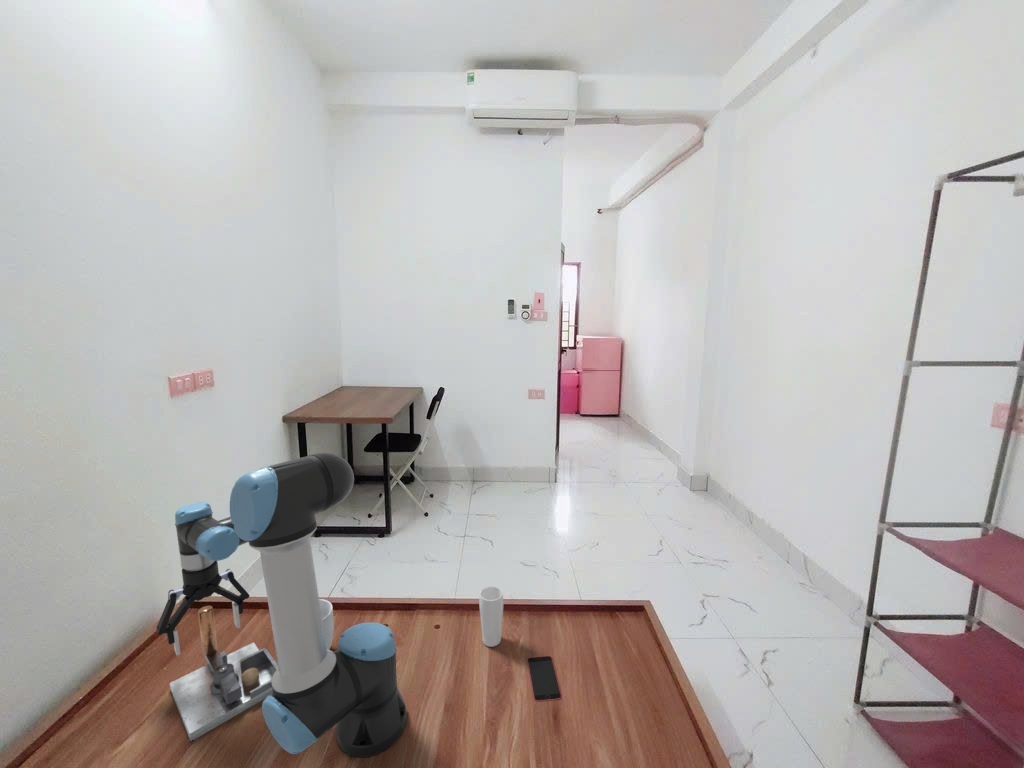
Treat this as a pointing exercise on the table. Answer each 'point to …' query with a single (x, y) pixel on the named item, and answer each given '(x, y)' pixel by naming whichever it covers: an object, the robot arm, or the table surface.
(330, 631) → the mug
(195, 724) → the grey flat slab fixture
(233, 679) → the lever
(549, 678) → the smartphone
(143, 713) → the table surface
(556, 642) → the table surface
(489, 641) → the white tall cup
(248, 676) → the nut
